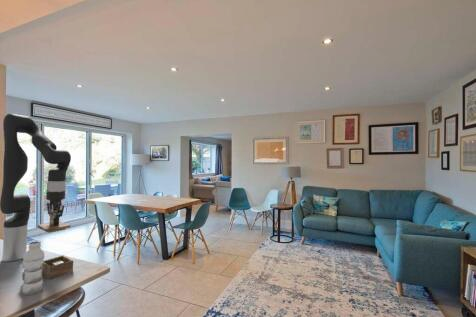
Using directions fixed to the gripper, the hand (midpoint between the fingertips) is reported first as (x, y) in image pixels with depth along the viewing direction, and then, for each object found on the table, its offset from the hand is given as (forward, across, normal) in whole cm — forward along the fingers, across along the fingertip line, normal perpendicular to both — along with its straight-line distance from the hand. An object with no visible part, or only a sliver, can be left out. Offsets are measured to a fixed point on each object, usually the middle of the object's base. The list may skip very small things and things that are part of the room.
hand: (54, 224), depth 118 cm
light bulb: (+21, +13, -12) cm, 27 cm away
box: (+20, +12, -2) cm, 24 cm away
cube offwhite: (+20, +10, -1) cm, 22 cm away
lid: (+2, 0, 0) cm, 2 cm away
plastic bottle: (+20, +22, -14) cm, 33 cm away
